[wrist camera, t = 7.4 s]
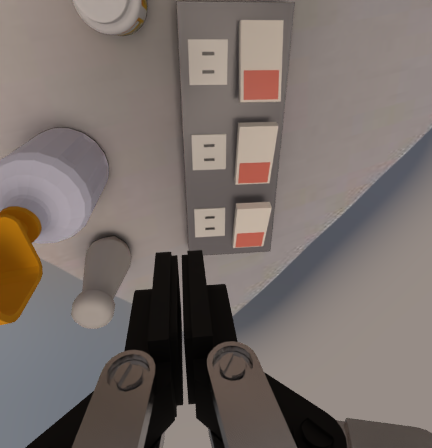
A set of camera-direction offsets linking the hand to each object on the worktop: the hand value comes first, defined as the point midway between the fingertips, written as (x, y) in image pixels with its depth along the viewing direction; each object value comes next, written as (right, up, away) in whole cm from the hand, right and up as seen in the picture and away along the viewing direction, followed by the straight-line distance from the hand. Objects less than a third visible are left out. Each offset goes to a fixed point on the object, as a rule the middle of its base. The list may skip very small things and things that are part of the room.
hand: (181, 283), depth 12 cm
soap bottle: (-16, +9, +27) cm, 32 cm away
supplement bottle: (-8, +24, +20) cm, 32 cm away
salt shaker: (-13, -1, +33) cm, 35 cm away
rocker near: (+6, +18, +19) cm, 27 cm away
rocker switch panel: (+3, +12, +27) cm, 30 cm away
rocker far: (+6, +2, +28) cm, 29 cm away
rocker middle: (+6, +10, +24) cm, 26 cm away
